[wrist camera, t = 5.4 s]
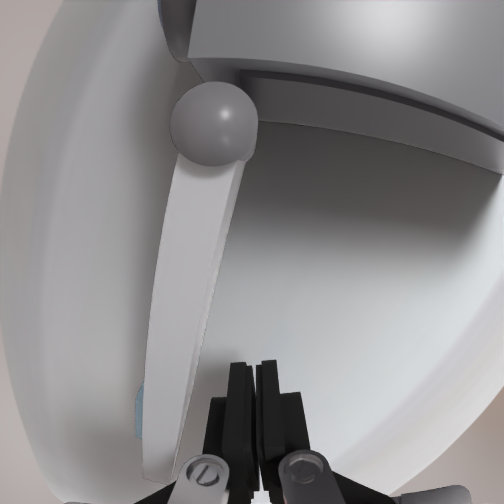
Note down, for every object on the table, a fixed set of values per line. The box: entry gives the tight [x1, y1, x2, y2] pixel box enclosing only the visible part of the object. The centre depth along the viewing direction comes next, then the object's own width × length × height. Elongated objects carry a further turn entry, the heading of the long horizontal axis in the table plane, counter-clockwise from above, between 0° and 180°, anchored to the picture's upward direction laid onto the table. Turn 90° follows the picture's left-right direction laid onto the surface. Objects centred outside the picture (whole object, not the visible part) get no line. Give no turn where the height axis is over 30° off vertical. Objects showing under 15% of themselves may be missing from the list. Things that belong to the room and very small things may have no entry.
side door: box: [136, 82, 258, 485], centre depth 9 cm, size 2×12×6 cm, turn 166°
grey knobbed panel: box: [158, 0, 504, 175], centre depth 6 cm, size 9×16×8 cm, turn 85°
